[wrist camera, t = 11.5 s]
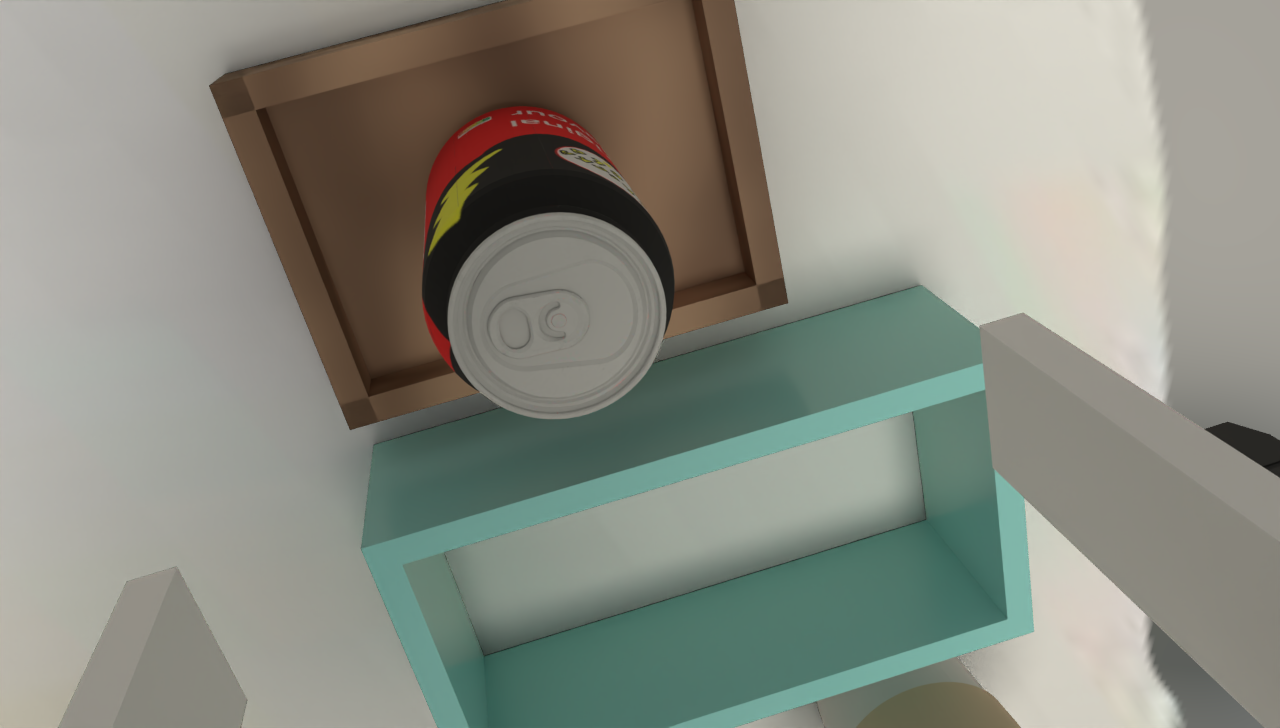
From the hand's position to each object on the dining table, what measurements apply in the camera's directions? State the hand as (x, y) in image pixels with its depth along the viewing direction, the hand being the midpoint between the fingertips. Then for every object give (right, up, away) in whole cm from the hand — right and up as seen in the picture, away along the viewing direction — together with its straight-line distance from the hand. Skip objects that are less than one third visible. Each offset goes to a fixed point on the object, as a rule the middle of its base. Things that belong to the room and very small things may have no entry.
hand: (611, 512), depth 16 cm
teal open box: (+2, -3, +25) cm, 26 cm away
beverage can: (-4, +8, +18) cm, 20 cm away
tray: (-4, +9, +19) cm, 21 cm away
